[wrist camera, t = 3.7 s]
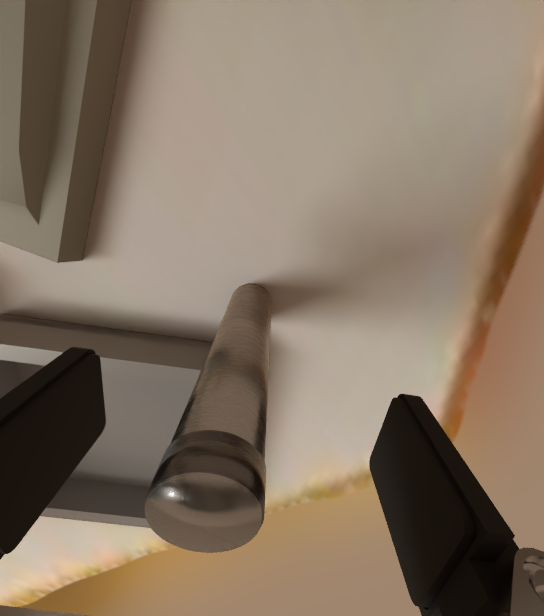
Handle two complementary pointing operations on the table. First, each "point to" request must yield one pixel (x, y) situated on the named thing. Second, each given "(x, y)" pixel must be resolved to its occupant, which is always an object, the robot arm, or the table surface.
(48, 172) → the soap mold
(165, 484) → the gauge pin
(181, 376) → the tray
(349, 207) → the table surface
